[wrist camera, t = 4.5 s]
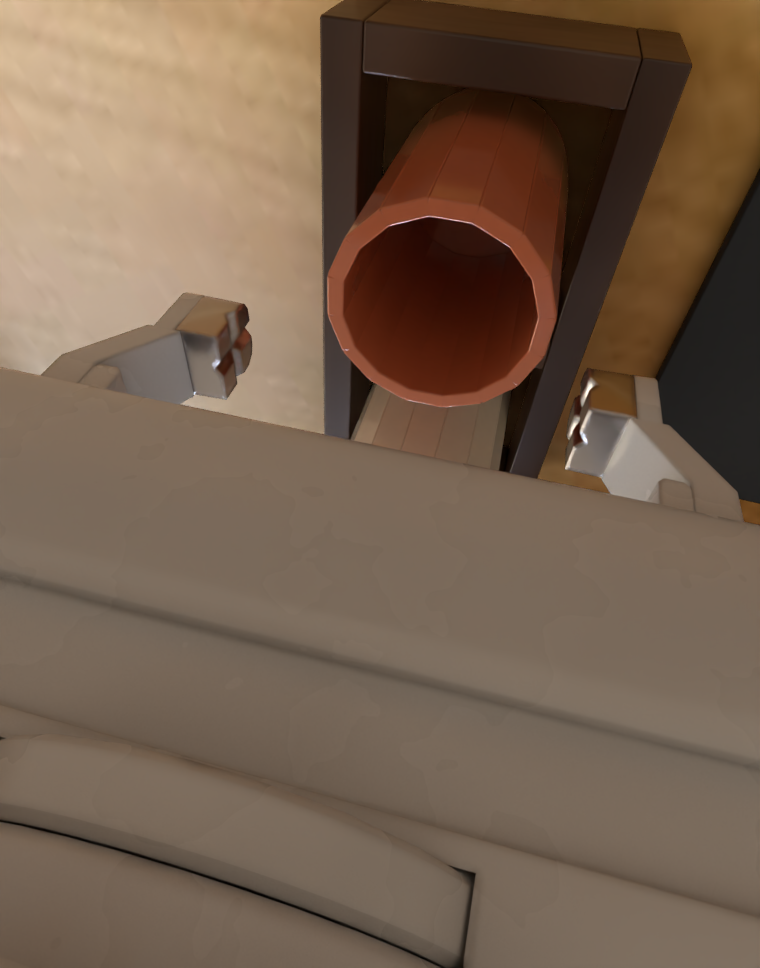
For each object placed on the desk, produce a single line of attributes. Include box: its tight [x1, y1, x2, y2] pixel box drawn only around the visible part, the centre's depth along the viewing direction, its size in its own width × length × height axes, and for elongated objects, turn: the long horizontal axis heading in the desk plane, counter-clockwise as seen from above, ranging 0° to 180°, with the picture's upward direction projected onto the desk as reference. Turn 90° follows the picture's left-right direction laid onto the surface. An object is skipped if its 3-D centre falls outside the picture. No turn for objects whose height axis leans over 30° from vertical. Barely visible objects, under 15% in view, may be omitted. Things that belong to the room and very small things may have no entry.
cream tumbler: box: [350, 383, 512, 471], centre depth 25 cm, size 6×6×9 cm
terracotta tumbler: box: [327, 88, 569, 407], centre depth 18 cm, size 6×6×9 cm
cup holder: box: [320, 0, 692, 479], centre depth 23 cm, size 10×18×4 cm, turn 177°
